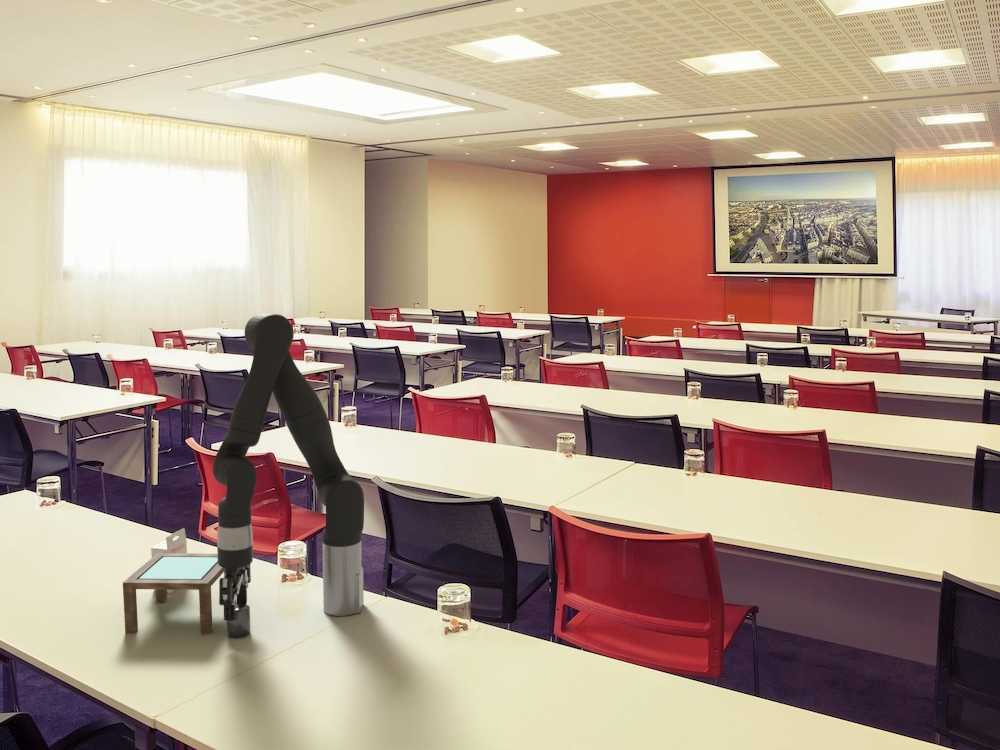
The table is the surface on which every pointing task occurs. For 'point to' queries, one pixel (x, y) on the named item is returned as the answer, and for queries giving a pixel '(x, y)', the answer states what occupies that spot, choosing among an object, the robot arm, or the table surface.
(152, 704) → the table surface
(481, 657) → the table surface
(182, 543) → the ink cartridge box
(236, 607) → the cylinder
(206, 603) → the miniature wooden table
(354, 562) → the robot arm
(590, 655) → the table surface
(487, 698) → the table surface
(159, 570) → the trapdoor
